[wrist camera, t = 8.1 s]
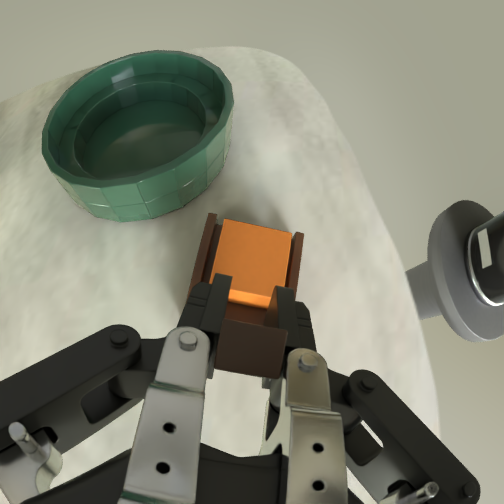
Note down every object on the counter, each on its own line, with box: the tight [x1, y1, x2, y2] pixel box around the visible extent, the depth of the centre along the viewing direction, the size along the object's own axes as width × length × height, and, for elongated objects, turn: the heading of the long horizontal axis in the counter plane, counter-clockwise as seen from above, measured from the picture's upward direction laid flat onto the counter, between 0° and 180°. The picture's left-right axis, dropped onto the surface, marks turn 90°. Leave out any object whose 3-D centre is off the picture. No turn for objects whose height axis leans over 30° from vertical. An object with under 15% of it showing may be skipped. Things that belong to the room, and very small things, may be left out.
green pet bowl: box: [42, 50, 234, 222], centre depth 20 cm, size 15×15×6 cm
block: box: [209, 219, 292, 309], centre depth 18 cm, size 4×4×4 cm
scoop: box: [185, 213, 304, 379], centre depth 14 cm, size 9×7×12 cm
